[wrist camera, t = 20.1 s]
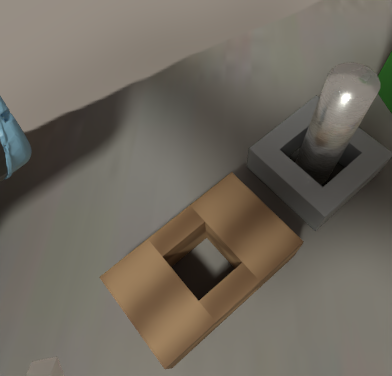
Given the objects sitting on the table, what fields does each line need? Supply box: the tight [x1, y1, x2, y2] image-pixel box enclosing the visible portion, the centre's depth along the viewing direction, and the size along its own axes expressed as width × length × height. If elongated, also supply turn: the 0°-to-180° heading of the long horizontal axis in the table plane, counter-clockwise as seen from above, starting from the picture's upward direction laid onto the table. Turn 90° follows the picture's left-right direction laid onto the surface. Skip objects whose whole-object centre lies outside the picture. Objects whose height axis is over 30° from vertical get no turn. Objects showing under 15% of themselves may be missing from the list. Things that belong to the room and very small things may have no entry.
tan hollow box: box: [100, 172, 304, 369], centre depth 43 cm, size 12×20×6 cm, turn 130°
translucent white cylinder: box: [295, 63, 380, 185], centre depth 43 cm, size 5×5×18 cm
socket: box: [247, 95, 392, 231], centre depth 49 cm, size 13×13×5 cm
